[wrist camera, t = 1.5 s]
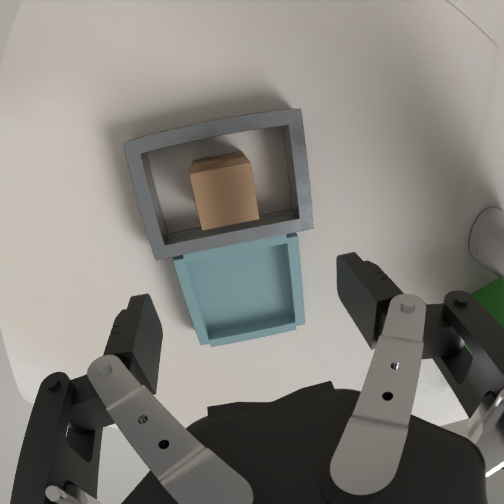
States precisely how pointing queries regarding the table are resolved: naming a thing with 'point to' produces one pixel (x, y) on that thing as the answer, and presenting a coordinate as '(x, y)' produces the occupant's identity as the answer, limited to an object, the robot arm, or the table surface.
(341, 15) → the table surface
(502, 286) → the hardback book
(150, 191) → the holder
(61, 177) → the table surface
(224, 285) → the tray
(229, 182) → the walnut block
